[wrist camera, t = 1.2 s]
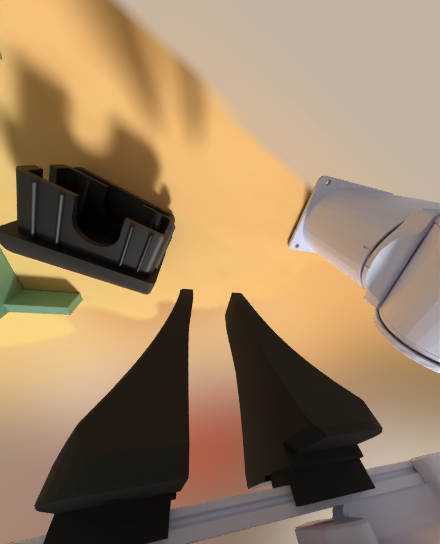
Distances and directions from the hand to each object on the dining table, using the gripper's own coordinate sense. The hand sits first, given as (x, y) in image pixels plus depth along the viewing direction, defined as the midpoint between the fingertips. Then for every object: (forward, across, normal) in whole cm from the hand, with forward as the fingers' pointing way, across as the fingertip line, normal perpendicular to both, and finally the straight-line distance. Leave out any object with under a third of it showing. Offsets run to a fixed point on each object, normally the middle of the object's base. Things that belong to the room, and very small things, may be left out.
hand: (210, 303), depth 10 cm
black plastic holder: (+11, +8, 0) cm, 14 cm away
